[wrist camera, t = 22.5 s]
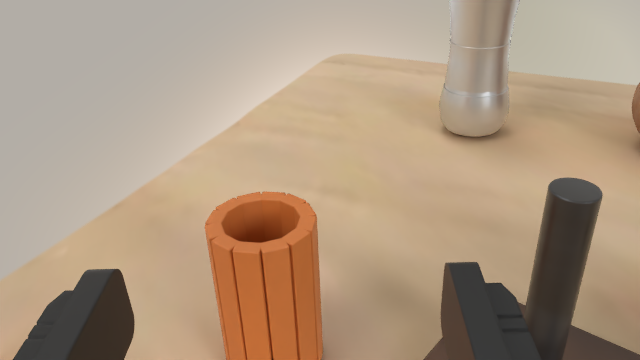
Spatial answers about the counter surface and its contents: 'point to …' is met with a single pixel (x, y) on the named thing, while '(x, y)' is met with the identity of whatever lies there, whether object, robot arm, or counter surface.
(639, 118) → the onion
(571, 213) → the stand
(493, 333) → the robot arm
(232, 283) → the orange grooved tube
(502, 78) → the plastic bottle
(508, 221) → the counter surface
